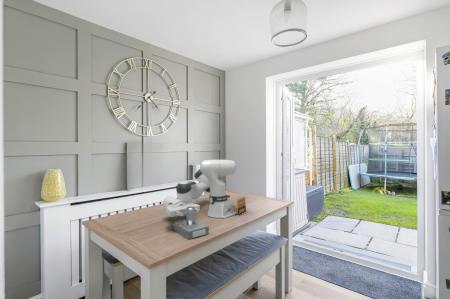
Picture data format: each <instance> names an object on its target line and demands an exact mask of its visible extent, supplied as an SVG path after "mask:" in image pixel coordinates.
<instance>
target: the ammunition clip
mask: <svg viewBox="0 0 450 299" xmlns="http://www.w3.org/2000/svg"><path fill="white" fill-rule="evenodd" d="M235 207H236V208H235V210H236V215H239V216H241V215H243V214H242V213H244V212H246V213H247V205H246V197H245V196H243V197H239V198H237V199H236V206H235ZM240 214H241V215H240ZM244 214H245V213H244ZM236 215H235V216H236Z"/></svg>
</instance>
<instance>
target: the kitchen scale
mask: <svg viewBox="0 0 450 299" xmlns="http://www.w3.org/2000/svg"><path fill="white" fill-rule="evenodd" d="M172 230H174V231H175V232H176V233H178V234H179V235H181V236H182V237H183V238H184V239H187V240H192V239H196V238H199V237H203V236H207V235H210V232H209V231H210V227H209V226H208V224H206V223H204V222H201V221H200V220H198V219H196V218H195V224H194V225H187V224H186V219H180V220H177V221H174V222H173V229H172Z"/></svg>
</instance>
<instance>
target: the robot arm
mask: <svg viewBox="0 0 450 299" xmlns="http://www.w3.org/2000/svg"><path fill="white" fill-rule="evenodd" d="M237 167H238V166H237V163H236V162H235V160H230V159H205V160H202V161H201V163H200V165H199V169H197V170H196V171H195V173H194V175H193V177H194V178H195V180H197V181H198V182H196V181H182V182H178V184H176V186H175V189H176V190H175V191H176V197H173V196H166V197H165V198H164V199H163V202H162V204H163V207H164V208H165V209H164V210H165V211H164V212H165V213H164V214H165V216H167V217H169V218H173V217H177V216H178V217H179V216H180V217H184V216H185V215H186V208H187V207H195V214H198V213H199V212H200V211H201V206H200V204H197V203H193V200H198V199H199V198H201V197H202V195H203V194H204V192H205V193H209V195H208V196H209V201H208V202H209V206H208V211H207V214H206V216H208V217H210V218H216V219H218V218H219V219H220V218H221V219H227V218H230V217H232V216H236V215H235V214H236V208H235V207H236V206H235V204H234V203H233V202H232V201H230V200H229V199H231V195H230V194H227V192H226V191H227V185H226V182H225V181H223V180H221V179H220V178H221V177H226V176H230V175H231V176H232V175H234V174H235V173H236V172H237Z"/></svg>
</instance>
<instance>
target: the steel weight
mask: <svg viewBox="0 0 450 299" xmlns="http://www.w3.org/2000/svg"><path fill="white" fill-rule="evenodd" d="M185 216H186V217H185V218H186V224H187V225H194V224H195V219H196V213H195V207H187V208H186V214H185Z"/></svg>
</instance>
